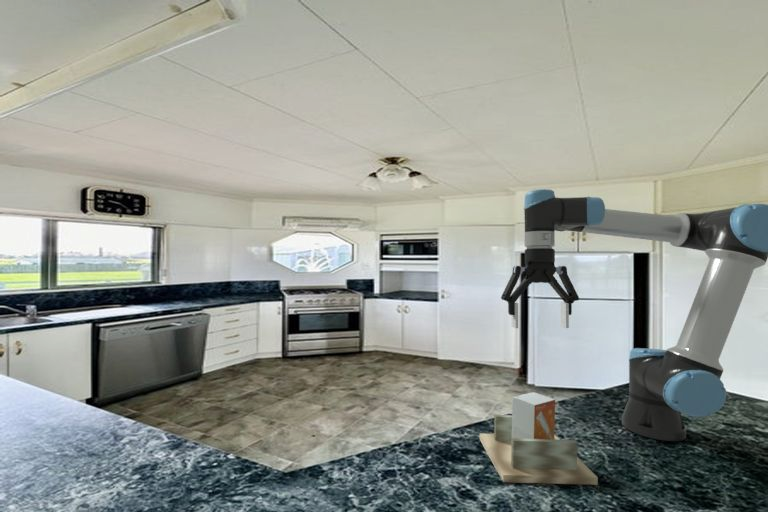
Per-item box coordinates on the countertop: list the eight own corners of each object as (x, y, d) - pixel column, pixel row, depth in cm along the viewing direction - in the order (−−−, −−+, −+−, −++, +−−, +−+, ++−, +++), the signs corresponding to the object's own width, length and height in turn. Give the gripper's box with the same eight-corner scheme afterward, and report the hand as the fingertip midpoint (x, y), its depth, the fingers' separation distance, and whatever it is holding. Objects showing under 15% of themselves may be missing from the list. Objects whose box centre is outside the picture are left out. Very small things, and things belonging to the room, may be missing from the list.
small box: (533, 463, 86) (534, 405, 87) (510, 451, 92) (511, 396, 92) (555, 454, 91) (556, 399, 91) (531, 443, 96) (532, 391, 96)
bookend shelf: (555, 441, 101) (555, 412, 101) (597, 484, 81) (598, 448, 81) (479, 439, 101) (480, 410, 101) (503, 482, 81) (503, 446, 81)
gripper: (498, 247, 99) (498, 329, 98) (592, 247, 100) (593, 329, 100) (489, 248, 106) (489, 325, 106) (577, 248, 108) (577, 325, 107)
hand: (539, 327), depth 103 cm, fingers open, 13 cm apart
